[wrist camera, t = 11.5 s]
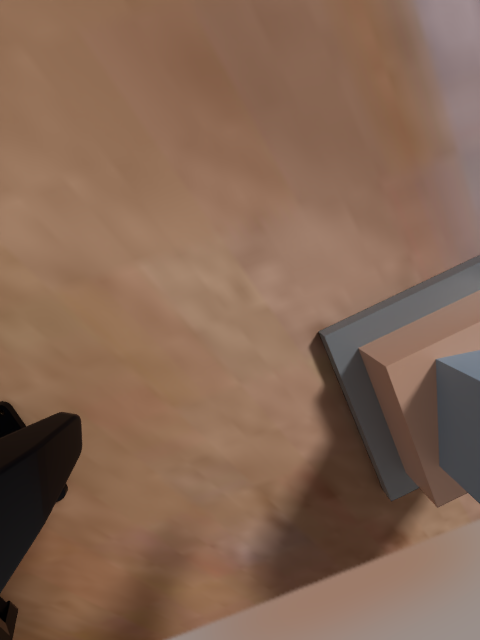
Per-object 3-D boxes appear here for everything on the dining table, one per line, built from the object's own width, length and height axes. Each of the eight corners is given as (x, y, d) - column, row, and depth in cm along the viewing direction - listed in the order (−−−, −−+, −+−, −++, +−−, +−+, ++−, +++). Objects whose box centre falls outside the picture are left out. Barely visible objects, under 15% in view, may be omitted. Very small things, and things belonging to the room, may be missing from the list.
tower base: (383, 490, 24) (420, 540, 20) (318, 331, 21) (347, 353, 17) (546, 411, 24) (614, 445, 20) (505, 242, 21) (576, 243, 17)
